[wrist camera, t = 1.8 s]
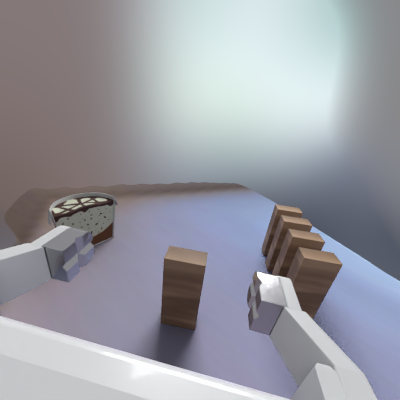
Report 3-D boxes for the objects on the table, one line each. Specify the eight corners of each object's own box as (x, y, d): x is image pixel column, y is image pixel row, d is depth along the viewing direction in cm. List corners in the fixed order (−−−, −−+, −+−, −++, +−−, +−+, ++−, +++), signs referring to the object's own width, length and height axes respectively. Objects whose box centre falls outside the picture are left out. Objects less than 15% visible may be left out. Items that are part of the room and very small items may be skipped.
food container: (105, 224, 48) (102, 187, 44) (119, 235, 45) (117, 196, 41) (46, 246, 39) (34, 201, 35) (58, 261, 36) (47, 214, 32)
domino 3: (291, 275, 40) (312, 225, 35) (267, 270, 40) (284, 221, 35) (288, 266, 42) (307, 219, 37) (265, 262, 42) (281, 215, 37)
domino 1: (194, 330, 27) (205, 266, 22) (160, 323, 28) (164, 258, 23) (197, 314, 30) (207, 252, 25) (165, 307, 30) (169, 245, 25)
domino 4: (299, 295, 35) (325, 242, 30) (272, 290, 36) (292, 236, 31) (295, 285, 37) (318, 233, 32) (269, 280, 38) (288, 228, 33)
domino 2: (285, 258, 44) (302, 213, 39) (263, 254, 45) (277, 209, 40) (282, 252, 46) (298, 208, 41) (261, 248, 47) (275, 204, 42)
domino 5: (310, 322, 31) (342, 264, 26) (278, 315, 31) (304, 257, 26) (305, 308, 33) (333, 253, 28) (275, 302, 33) (298, 246, 28)
